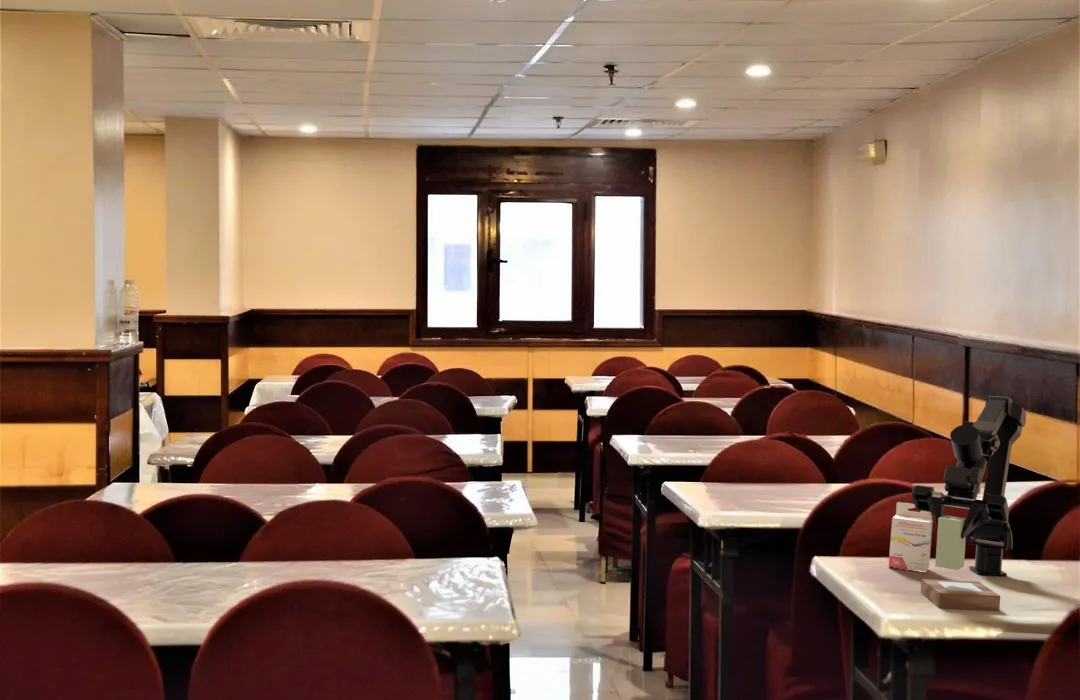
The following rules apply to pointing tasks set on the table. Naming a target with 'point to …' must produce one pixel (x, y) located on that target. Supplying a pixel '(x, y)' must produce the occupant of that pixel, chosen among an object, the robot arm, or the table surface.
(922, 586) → the walnut base plate
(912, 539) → the ink cartridge box
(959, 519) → the sage pillar
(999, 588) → the table surface
